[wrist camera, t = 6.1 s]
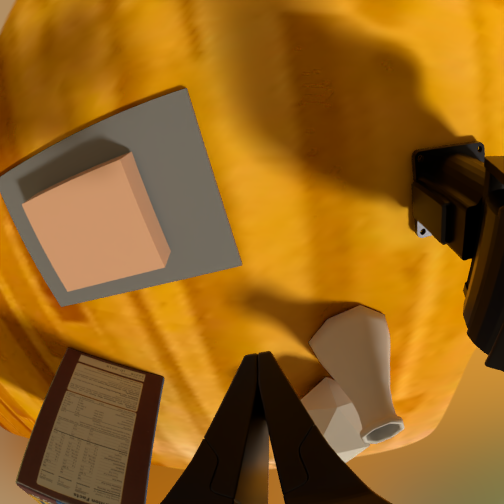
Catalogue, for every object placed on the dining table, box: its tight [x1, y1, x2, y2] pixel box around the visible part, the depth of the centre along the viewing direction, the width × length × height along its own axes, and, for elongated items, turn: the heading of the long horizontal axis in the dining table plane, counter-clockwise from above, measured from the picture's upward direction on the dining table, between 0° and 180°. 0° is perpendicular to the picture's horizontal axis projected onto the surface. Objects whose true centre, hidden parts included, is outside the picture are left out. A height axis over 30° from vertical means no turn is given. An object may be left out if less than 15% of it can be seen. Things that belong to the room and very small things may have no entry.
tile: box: [22, 151, 171, 292], centre depth 18 cm, size 2×7×8 cm
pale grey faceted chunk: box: [301, 377, 370, 463], centre depth 27 cm, size 8×9×10 cm
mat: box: [0, 88, 242, 307], centre depth 20 cm, size 16×12×1 cm
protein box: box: [16, 348, 164, 504], centre depth 24 cm, size 10×15×16 cm
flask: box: [308, 305, 404, 444], centre depth 22 cm, size 7×7×10 cm
